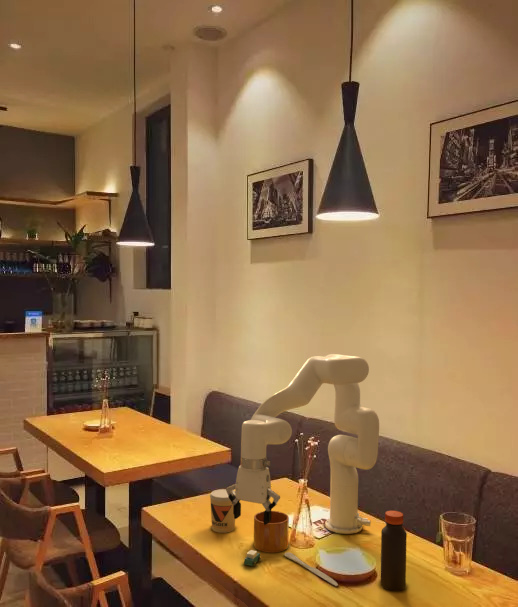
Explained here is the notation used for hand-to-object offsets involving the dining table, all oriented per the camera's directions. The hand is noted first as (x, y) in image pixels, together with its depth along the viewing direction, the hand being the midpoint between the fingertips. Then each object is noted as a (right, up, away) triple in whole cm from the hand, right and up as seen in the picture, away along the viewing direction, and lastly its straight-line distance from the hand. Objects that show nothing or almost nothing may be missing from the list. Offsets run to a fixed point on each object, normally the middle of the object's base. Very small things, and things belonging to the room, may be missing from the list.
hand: (251, 520), depth 177 cm
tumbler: (+6, -13, +13) cm, 19 cm away
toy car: (0, -13, 0) cm, 13 cm away
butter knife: (+17, -13, -4) cm, 22 cm away
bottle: (+39, -14, -12) cm, 43 cm away
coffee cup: (-10, -12, +26) cm, 31 cm away
